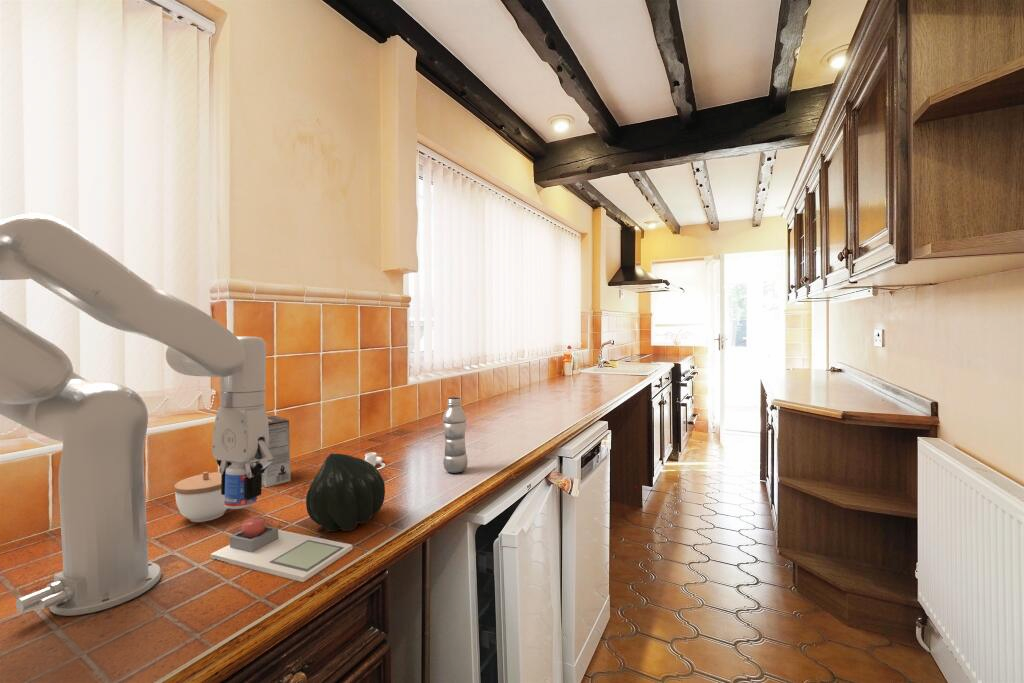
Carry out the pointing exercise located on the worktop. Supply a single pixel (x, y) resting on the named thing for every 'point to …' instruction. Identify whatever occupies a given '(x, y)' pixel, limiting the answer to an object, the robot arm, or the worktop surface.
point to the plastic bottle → (454, 436)
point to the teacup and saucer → (374, 459)
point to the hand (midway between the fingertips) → (241, 493)
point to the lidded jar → (200, 497)
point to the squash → (345, 493)
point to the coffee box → (278, 452)
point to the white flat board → (282, 553)
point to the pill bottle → (236, 487)
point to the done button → (253, 526)
